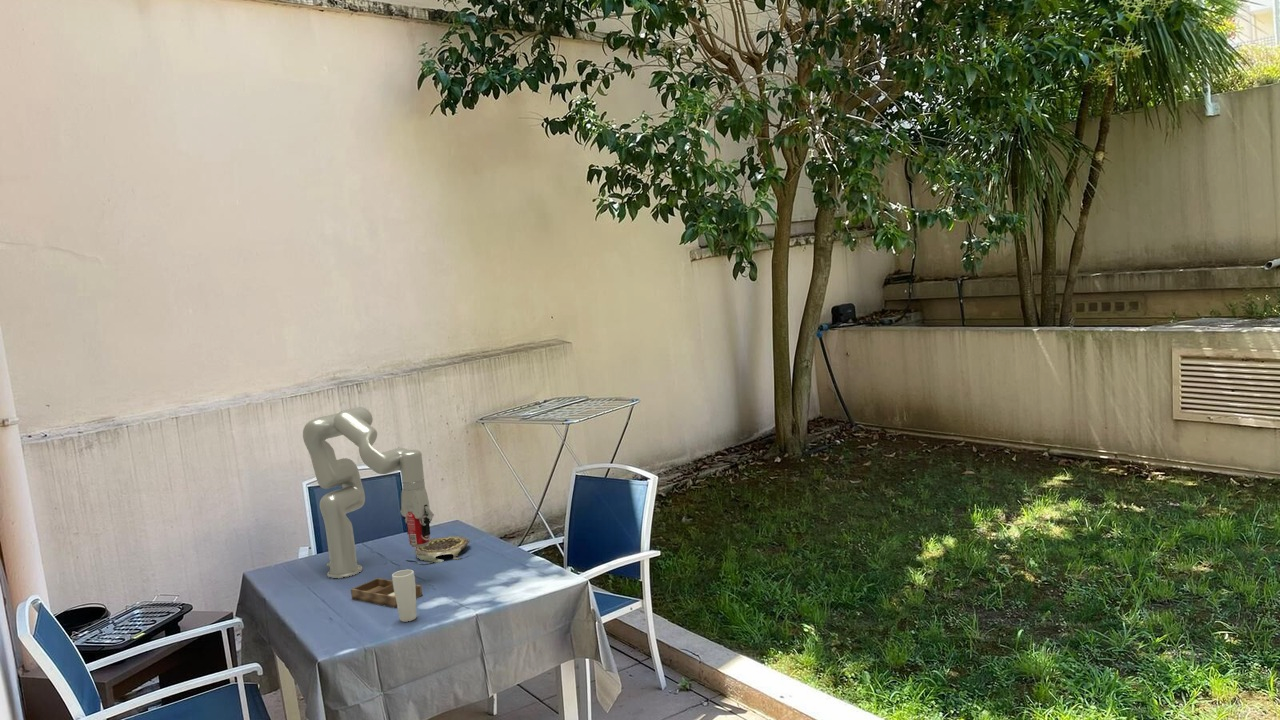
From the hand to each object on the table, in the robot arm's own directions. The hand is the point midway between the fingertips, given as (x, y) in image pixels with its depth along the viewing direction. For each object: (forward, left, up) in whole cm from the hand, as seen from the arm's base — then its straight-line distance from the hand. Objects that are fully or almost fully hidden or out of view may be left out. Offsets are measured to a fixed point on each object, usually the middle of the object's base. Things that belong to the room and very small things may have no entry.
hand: (418, 534), depth 303 cm
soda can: (0, 0, -4) cm, 4 cm away
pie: (-19, +27, -18) cm, 38 cm away
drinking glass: (+22, -27, -18) cm, 39 cm away
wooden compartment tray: (-1, -16, -17) cm, 24 cm away
